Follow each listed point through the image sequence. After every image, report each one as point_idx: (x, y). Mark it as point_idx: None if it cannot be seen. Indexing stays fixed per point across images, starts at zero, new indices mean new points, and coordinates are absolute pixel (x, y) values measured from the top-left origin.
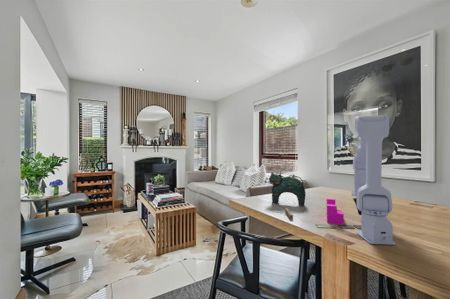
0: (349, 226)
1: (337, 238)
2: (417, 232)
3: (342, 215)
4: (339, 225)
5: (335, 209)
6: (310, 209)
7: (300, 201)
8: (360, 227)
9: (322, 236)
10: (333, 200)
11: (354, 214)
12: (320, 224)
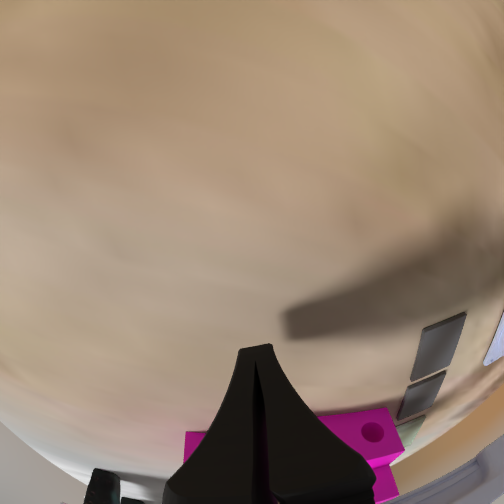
0: (425, 390)
1: (486, 393)
2: (489, 48)
3: (400, 447)
4: (408, 415)
5: (391, 483)
6: (154, 472)
7: (118, 495)
8: (446, 355)
9: (465, 417)
10: None
11: (122, 348)
12: None
